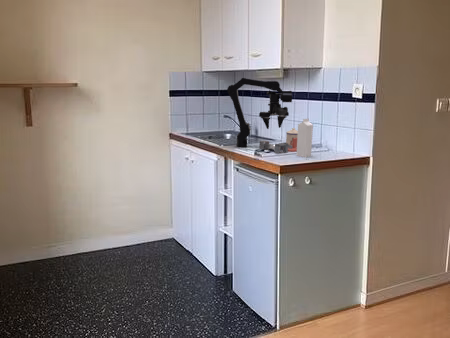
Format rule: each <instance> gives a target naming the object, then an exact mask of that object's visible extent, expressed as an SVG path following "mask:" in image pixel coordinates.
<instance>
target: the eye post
mask: <svg viewBox="0 0 450 338" xmlns="http://www.w3.org/2000/svg"><path fill="white" fill-rule="evenodd" d="M274 145H275V150H274V154H277V155H278V154H285V153H289V152H288V147H289V145H288V144H287V143H286V142H282V143H275V144H274ZM280 147H282V151H281V150H280Z"/></svg>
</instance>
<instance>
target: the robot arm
mask: <svg viewBox="0 0 450 338" xmlns="http://www.w3.org/2000/svg"><path fill="white" fill-rule="evenodd" d="M244 85H247V86H253V87H260V88H264V89H268V90H269V91H267V92H266V95H269V103H267V106H269V110H268V111H260V112H259V114H258V117H259V118H260V119H262V121H263V123H264V125H265V127H266V129H267V130H269V128H270V120H271V116H277V125H278V128H279V129H281V127H282V124H283V123H284V120H285V119H286V118H287V117H288V116H289V115H290V113H289V110H288V109H289V107H287V106H283V107H282V105H281V103H280V101H282V103H293V91H292V90H283V89H282V88H281V84H280V82H279V81H278V80H260V79H255V78H253V79H252V78H247V77H242V78H240V79H239V80H238V81H237V82H235V83H234V84H231V85H228V87H227V90H226V91H227V94H228V95H229V97H230V100H231V101H232V104H233V107H234V109H235V113H236V114H235V115H236V116H237V120H238V123H239V133H238V134H237V135H236V147H237V148H247V147H248V139H247V137H249V136H250V134H251V130H252V129H251V126H250V122H247V120H246V119H245V117H244V112H243V109H242V106H241V102H240V99H239V92H238V91H239V89H240V88H242V87H243V86H244ZM277 92H278V93H277Z"/></svg>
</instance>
